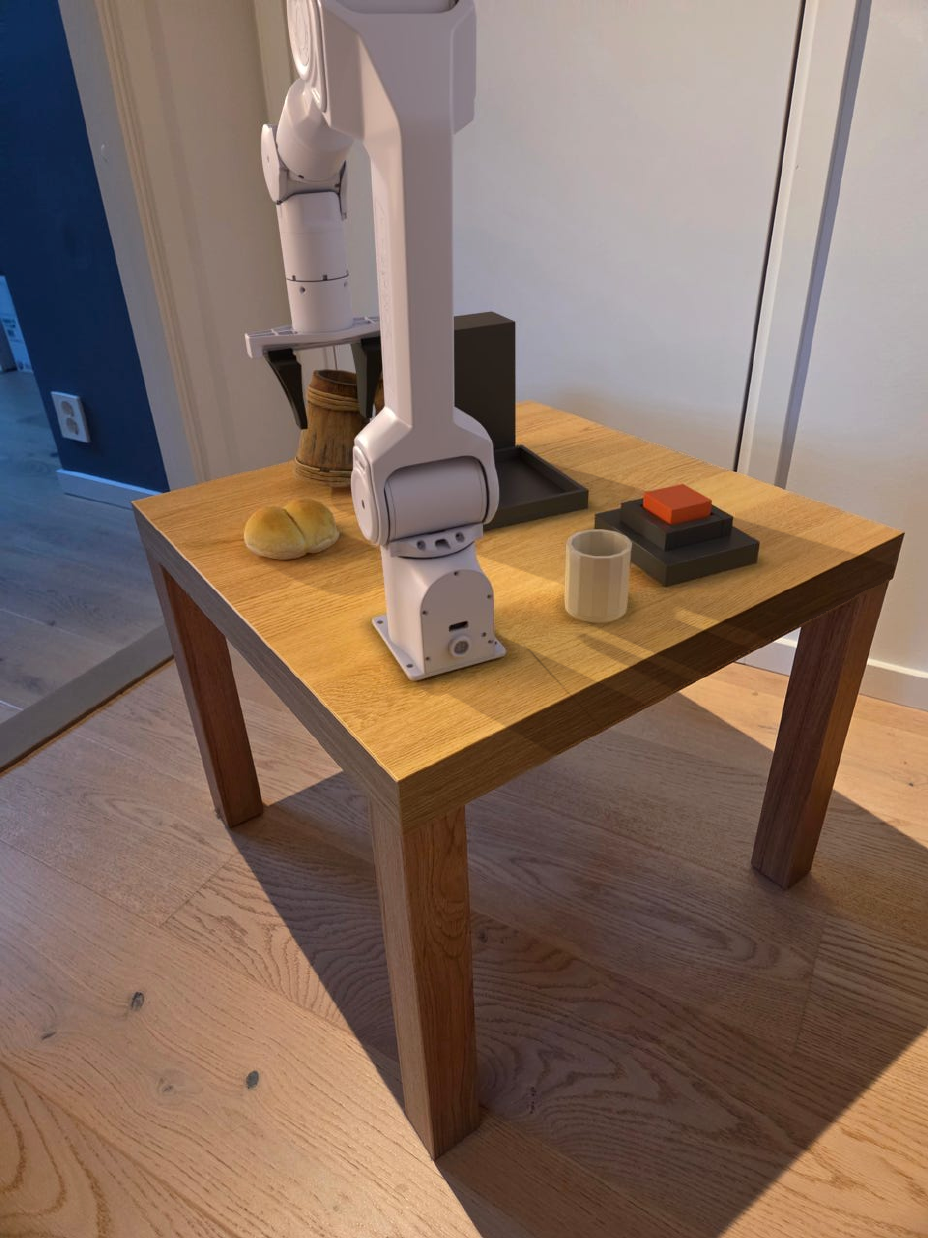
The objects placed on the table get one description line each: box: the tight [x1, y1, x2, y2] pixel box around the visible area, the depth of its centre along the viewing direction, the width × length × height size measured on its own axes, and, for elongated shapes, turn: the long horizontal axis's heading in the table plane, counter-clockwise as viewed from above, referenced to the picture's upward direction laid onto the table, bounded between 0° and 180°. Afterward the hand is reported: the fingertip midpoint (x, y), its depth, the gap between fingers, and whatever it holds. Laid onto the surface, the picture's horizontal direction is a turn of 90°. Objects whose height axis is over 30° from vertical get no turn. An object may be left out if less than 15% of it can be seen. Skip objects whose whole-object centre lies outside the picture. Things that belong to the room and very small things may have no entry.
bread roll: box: [243, 498, 340, 561], centre depth 83 cm, size 8×9×4 cm
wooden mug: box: [291, 368, 385, 489], centre depth 92 cm, size 9×14×18 cm, turn 58°
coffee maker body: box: [454, 310, 517, 450], centre depth 97 cm, size 6×12×16 cm, turn 114°
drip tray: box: [483, 444, 590, 533], centre depth 92 cm, size 15×13×2 cm
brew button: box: [643, 483, 713, 525], centre depth 78 cm, size 4×4×2 cm
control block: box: [593, 497, 761, 588], centre depth 80 cm, size 12×10×4 cm
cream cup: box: [563, 528, 632, 624], centre depth 70 cm, size 5×5×6 cm
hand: (334, 421), depth 85 cm, fingers open, 6 cm apart
